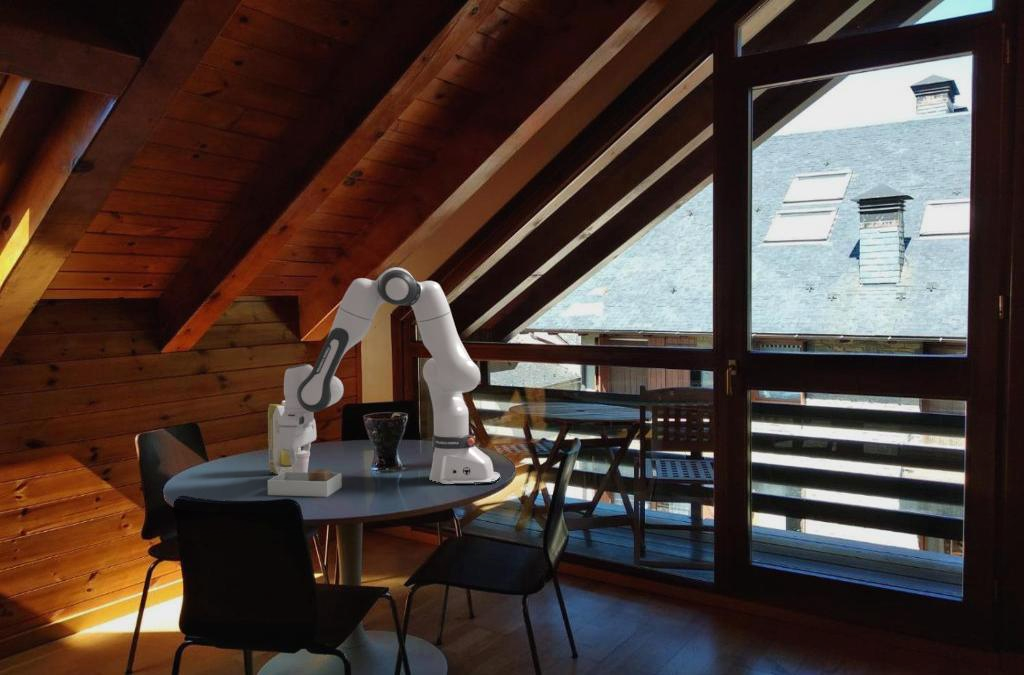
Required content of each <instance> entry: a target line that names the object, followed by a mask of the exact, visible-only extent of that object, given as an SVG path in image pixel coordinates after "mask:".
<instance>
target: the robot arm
mask: <svg viewBox="0 0 1024 675" xmlns="http://www.w3.org/2000/svg"><path fill="white" fill-rule="evenodd" d="M384 303H387V304H389V305H392V306H410V307H411V308H412V310H413V314H414V317H415V320H416V321H415V322H416V324H417V328H418V331H419V334H420V337H421V340H422V343H423V345H424V347H425V348H426V349H427V351H428V352H429V353H430V355H431V358H429V359H427V361H426V362H424V365H423V368H422V376H423V379H424V381H425V382H426V384H427V388H428V390H429V396H430V401H431V404H432V405H431V406H432V411H433V434H432V438H431V443H432V444H431V446H432V448H431V449H432V452H433V453H432V454H433V456H432V464H431V468H430V475H429V480H430V481H431V480H432V481H431V482H434V481H436V482H435V483H438V482H440V483H442V484H454V483H474V482H491V481H495V480H497V479H498V478H499V477H500V478H501V474H500V472H497V471H494V465H493V461H492V459H491V458H490V456H489V455H487V454H486V453H485V452H483V451H482V450H480V449H479V447H477V446H475V445H476V436H475V435H472V434H470V430H469V429H470V428H469V427H470V426H469V423H470V421H469V417H470V416H469V414H470V413H469V408H468V406H467V405H466V402H465V400H464V397H463V394H464V393H467V392H468V393H469V392H471V391H473V390H474V389H475V388H477V386H478V385H479V384H480V381H481V372H480V371H481V370H480V368H479V367H478V365H477V364H476V363H475V362H474V361H473V359H471V357H470V355H469V353H468V352H467V349H466V348H465V346H464V344H463V342H462V341H461V338H460V336H459V334H458V331H457V328H456V325H455V321H454V318H453V315H452V311H451V308H450V304H449V303H448V300H447V297H446V295H445V292H444V291H443V288H442V286H441V285H440V284H439V283H438V282H436V281H433V280H424V281H417V280H416V279H415V278H414V277H413V276H412V274H411V272H409V271H408V270H407V269H405V268H403V267H402V266H391V267H388V268H386V269H385V270H384V271H382V272H381V273H380V274H378V275H377V276H375V277H374V278H373V280H372V279H369V278H366V277H365V278H363V277H359V278H355V279H354V280H352V282H351V284H349V286H348V288H347V289H346V291H345V294H344V295H343V297H342V300H341V301H340V305H339V307H338V310H337V311H336V314H335V317H334V320H333V323H332V325H331V328H330V330H329V333H328V336H327V337H326V338H327V339H326V341H325V342H324V344H323V346H322V348H321V351H320V352H319V355H318V357H317V358H316V362H315V364H314V366H312V365H311V364H309V363H304V364H302V363H301V364H298V365H297V364H296V365H292V366H290V367H289V366H288V368H287V369H286V370H285V372H284V378H283V396H284V398H285V399H284V400H285V405H284V412H283V414H282V416H281V417H280V418H279V420H278V424H279V426H281V427H280V445H281V449H282V450H283V451H288V455H289V457H290V463H291V464H295V463H297V457H296V449H298V448H300V447H302V448H303V449H302V450H305V451H311V446H312V445H311V444H312V442H314V441H316V440H317V437H318V435H317V425H316V419H315V417H314V413H317V412H318V413H319V412H321V411H323V410H324V409H326V408H328V407H331V406H332V405H334V404H336V403H338V402H339V401H340V400H341V399H342V397H343V396H344V393H345V391H344V390H345V389H344V388H345V387H344V384H343V382H342V381H341V379H340V378H338V376H335V374H336V371H337V369H338V367H339V365H340V362H341V360H342V359H343V357H344V355H345V354H346V353H347V352H348V350H350V349H351V348H353V347H354V346H356V345H357V344H358V343H359V342H361V341H363V340H364V338H365V337H366V335H367V334H368V332H369V330H370V328H371V326H372V324H373V322H374V319H375V316H376V314H377V311H378V310H379V307H380V306H381V305H382V304H384ZM440 483H439V484H440ZM442 484H441V485H442Z"/></svg>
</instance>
